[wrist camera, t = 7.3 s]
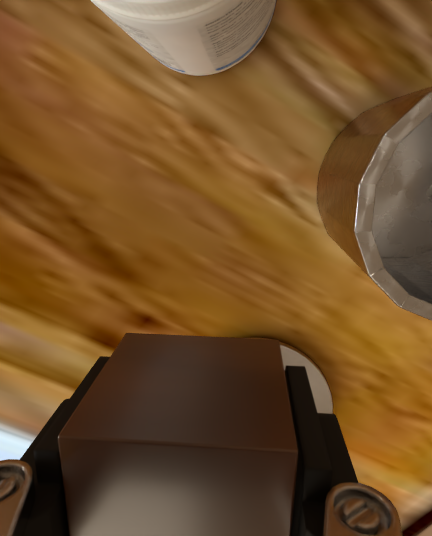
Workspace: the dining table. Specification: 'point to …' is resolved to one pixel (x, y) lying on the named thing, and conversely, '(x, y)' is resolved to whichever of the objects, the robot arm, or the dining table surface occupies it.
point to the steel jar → (385, 197)
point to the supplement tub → (193, 30)
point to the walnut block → (183, 441)
